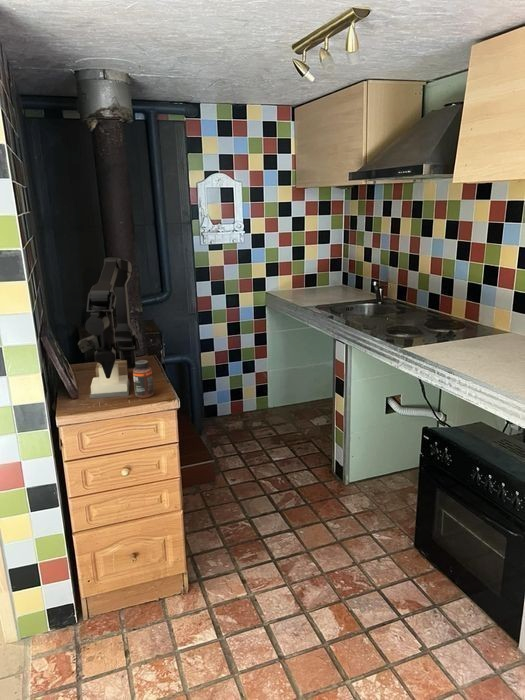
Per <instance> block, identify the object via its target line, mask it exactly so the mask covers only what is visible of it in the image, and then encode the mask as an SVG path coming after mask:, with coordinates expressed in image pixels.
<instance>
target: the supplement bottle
mask: <svg viewBox="0 0 525 700" xmlns="http://www.w3.org/2000/svg"><path fill="white" fill-rule="evenodd" d="M135 366H136V367H133V369H132V378H133V387H134V396H135V397H136V398H139V399H147V398H151V397H152V396H153V395H155V394H154V393H155V392H154V380H153V378H154V377H153V370H152V368H151V367H150V366H149V361H148V360H145V359H140V360H136V362H135Z"/></svg>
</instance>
